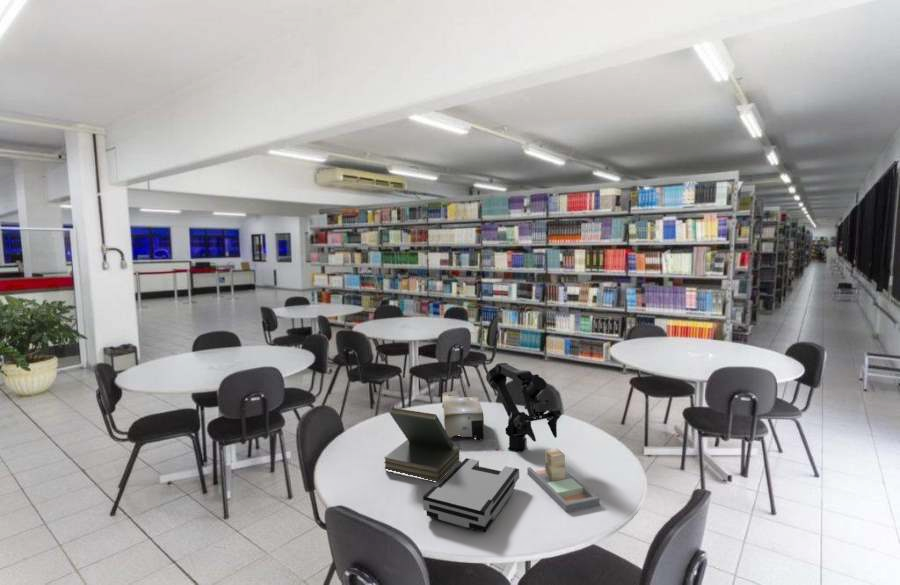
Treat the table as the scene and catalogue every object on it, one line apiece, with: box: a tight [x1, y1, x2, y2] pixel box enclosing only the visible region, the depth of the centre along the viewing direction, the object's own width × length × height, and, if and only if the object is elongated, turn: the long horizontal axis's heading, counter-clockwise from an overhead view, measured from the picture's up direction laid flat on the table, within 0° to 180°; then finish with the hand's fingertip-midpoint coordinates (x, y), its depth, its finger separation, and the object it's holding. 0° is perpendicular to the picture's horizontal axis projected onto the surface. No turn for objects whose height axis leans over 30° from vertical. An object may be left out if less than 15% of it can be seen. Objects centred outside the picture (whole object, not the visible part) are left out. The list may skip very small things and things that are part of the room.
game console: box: [422, 457, 520, 533], centre depth 155 cm, size 21×32×8 cm, turn 153°
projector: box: [441, 390, 486, 441], centre depth 221 cm, size 18×33×13 cm, turn 2°
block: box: [544, 448, 566, 481], centre depth 167 cm, size 5×5×9 cm
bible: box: [383, 407, 460, 482], centre depth 181 cm, size 23×20×25 cm
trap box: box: [526, 466, 600, 513], centre depth 164 cm, size 27×12×2 cm, turn 17°
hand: (545, 439), depth 176 cm, fingers open, 9 cm apart
